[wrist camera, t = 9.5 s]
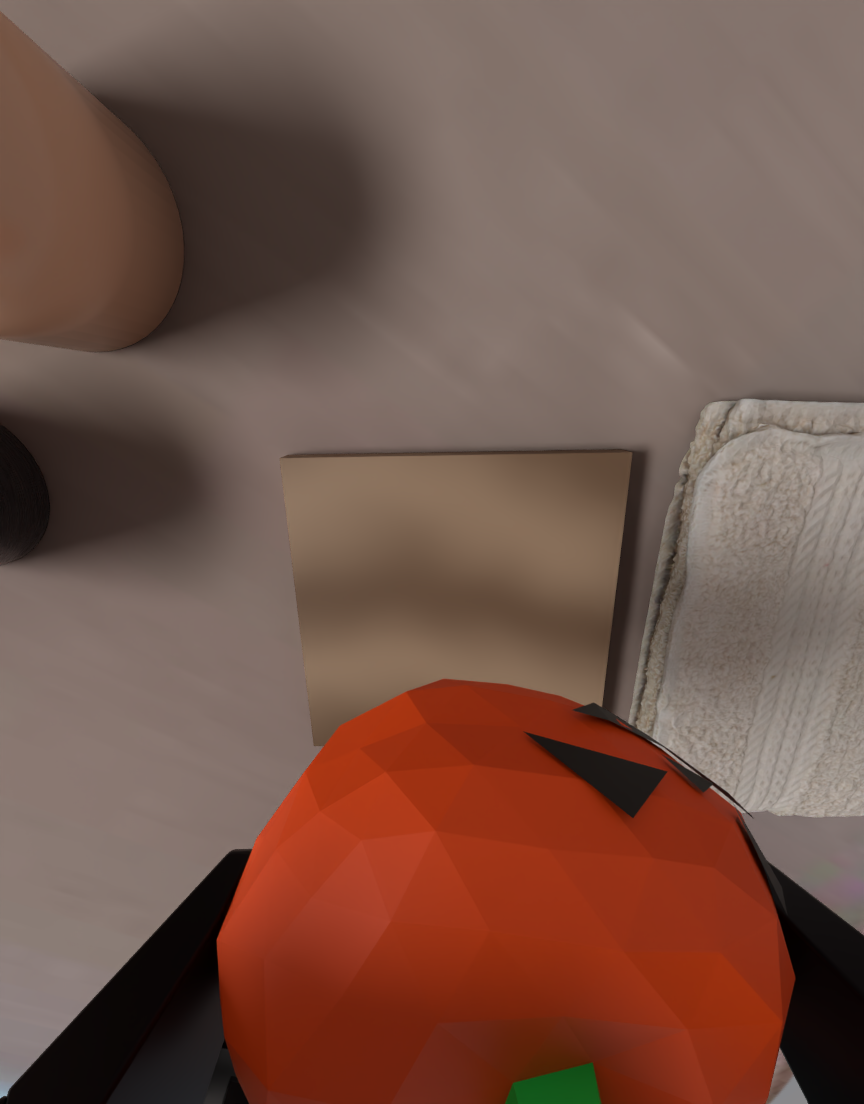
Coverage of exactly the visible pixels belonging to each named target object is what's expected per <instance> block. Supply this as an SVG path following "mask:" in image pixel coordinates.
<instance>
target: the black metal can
mask: <svg viewBox="0 0 864 1104" xmlns="http://www.w3.org/2000/svg"><path fill="white" fill-rule="evenodd" d="M48 519H49V496H48V492H47V487H46V484H45V481H44V478H43V476H42V474H41V472H40V470H39V467H38V465H37V464H36V462H35V461H34V459H33V457H32V456H31V454H30V453H29V452H28V451H27V449H26V448H25V447H24V445H23V444H22V443H21V442H20V441H19V440H18V439H17V438H16V437H15V436H14V435H13V434H12V433H11V432H9V431H8V430H7V429H6V428H5V427H3V426H2V425H1V424H0V566H1V565H4V564H6V563H9V562H11V561H14V560H17V559H19V558H21V557H23V556H24V555H26V554H27V553H29V552H30V551H31V550H32V549H34V547H35V546H36V545H37V544H38V543H39V541H40V540H41V538H42V536H43V535H44V532H45V530H46V527H47V524H48Z"/></svg>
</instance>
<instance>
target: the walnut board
mask: <svg viewBox="0 0 864 1104" xmlns="http://www.w3.org/2000/svg"><path fill="white" fill-rule="evenodd" d="M632 453H633V452H629V451H625V450H622V449H611V450H551V451H491V452H431V453H371V454H311V455H287V456H284V457H281V458H280V466H281V475H282V483H283V491H284V500H285V508H286V517H287V525H288V533H289V542H290V550H291V558H292V567H293V575H294V584H295V592H296V600H297V609H298V617H299V625H300V634H301V642H302V650H303V659H304V667H305V676H306V684H307V692H308V701H309V709H310V717H311V726H312V734H313V743H314V746H325V744H326V743H327V742H328V740H329V739H330V738H331V736H332V735H333V734H334V733H335V731H336V730H337V729H338V727H339V726H340V725H342V724H344V723H346V722H348V721H350V720H352V719H354V718H356V717H358V716H360V715H361V714H363V713H365V712H367V711H369V710H371V709H373V708H375V707H377V706H379V705H381V704H383V703H385V702H387V701H389V700H391V699H393V698H394V697H396V696H398V695H400V694H402V693H404V692H406V691H409V690H412V689H415V688H418V687H421V686H424V685H427V684H430V683H432V682H435V681H438V680H441V679H454V680H466V681H477V682H489V683H500V684H509V685H513V686H518V687H522V688H527V689H531V690H536V691H540V692H545V693H550V694H554V695H559V696H562V697H565V698H567V699H569V700H572V701H574V702H577V703H579V704H581V705H584V706H585V705H588V704H591V703H596V704H597V705H599V706H601V707H602V702H603V693H604V685H605V677H606V669H607V660H608V652H609V644H610V635H611V627H612V619H613V611H614V602H615V594H616V586H617V577H618V569H619V561H620V553H621V544H622V536H623V528H624V519H625V511H626V503H627V495H628V486H629V478H630V470H631V461H632Z"/></svg>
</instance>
